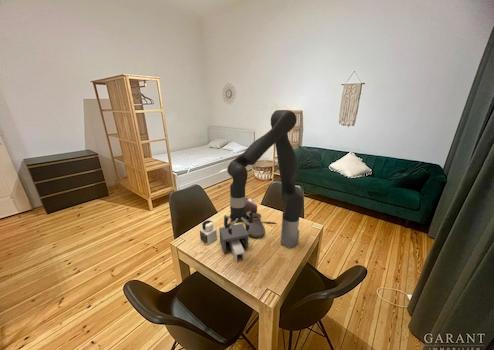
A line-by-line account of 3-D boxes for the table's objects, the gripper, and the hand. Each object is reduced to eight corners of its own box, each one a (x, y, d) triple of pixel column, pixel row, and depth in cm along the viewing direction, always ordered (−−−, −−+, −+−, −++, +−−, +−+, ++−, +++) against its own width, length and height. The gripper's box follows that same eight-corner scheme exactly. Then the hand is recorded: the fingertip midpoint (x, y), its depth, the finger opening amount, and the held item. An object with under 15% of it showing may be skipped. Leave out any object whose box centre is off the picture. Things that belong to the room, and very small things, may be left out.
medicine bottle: (200, 239, 122) (198, 222, 117) (209, 234, 127) (208, 217, 122) (207, 245, 117) (206, 227, 113) (217, 239, 122) (216, 222, 118)
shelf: (248, 248, 115) (248, 234, 111) (224, 254, 110) (223, 239, 107) (242, 236, 124) (242, 223, 121) (220, 241, 120) (219, 228, 117)
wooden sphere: (259, 222, 139) (260, 202, 134) (238, 225, 135) (238, 205, 130) (253, 211, 152) (253, 193, 147) (233, 213, 149) (233, 195, 143)
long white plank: (228, 242, 120) (228, 235, 118) (236, 240, 121) (236, 233, 119) (235, 261, 106) (235, 254, 104) (244, 259, 107) (244, 251, 105)
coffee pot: (242, 233, 127) (242, 212, 122) (255, 225, 135) (255, 206, 130) (268, 250, 113) (270, 227, 108) (281, 241, 121) (282, 219, 115)
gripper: (249, 197, 102) (249, 225, 108) (221, 202, 98) (223, 230, 103) (254, 204, 95) (254, 233, 101) (225, 210, 91) (226, 239, 97)
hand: (238, 231), depth 102 cm, fingers open, 8 cm apart
